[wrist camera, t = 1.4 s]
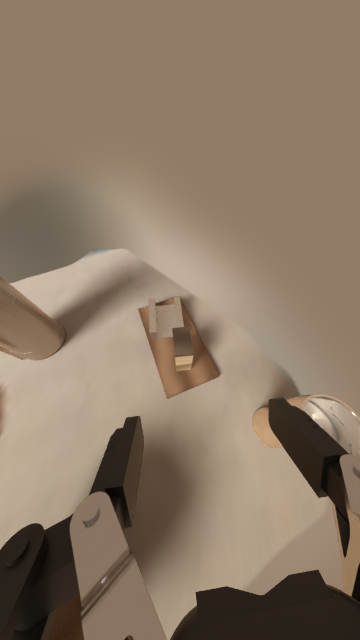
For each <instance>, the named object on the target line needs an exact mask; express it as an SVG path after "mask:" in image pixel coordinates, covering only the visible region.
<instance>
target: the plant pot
mask: <svg viewBox="0 0 360 640" xmlns="http://www.w3.org/2000/svg"><path fill="white" fill-rule="evenodd" d="M81 609H82V604H81V597H80V593H79V594H78V595H76V596H75V597H73V598H72V599H71V600H69V601H68V602H66V603H65V604H63V605H62V606H60V607H59V608H58V609H57V612H56V615H55V618H54V621H53V625H52V628H51V631H50V634H49V638H48V640H84V635H83V628H82V620H81Z"/></svg>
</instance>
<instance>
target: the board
mask: <svg viewBox="0 0 360 640" xmlns="http://www.w3.org/2000/svg"><path fill="white" fill-rule="evenodd" d="M180 302H181V309H182V316H183V323H184V327H187V326H189V328H190V334H191V340H192V346H193V352H194V355H193V361H192V367H191V369H190V370H182V371H176V362H175V353H174V343H173V337H170V338H161V339H152V338H151V335H150V328H149V306H146V307H143V308H140V309H138V310H139V313H140V316H141V319H142V322H143V325H144V328H145V331H146V334H147V338H148V341H149V344H150V347H151V350H152V353H153V356H154V359H155V362H156V365H157V369H158V372H159V375H160V378H161V381H162V384H163V387H164V390H165V393H166V396H167V399H168V398H170V397H172V396H175V395H177V394H179V393H182V392H184V391H187V390H189V389H191V388H194V387H196V386H198V385H201V384H203V383H205V382H208V381H210V380H212V379H215V378H217V377H218V376H219V375H218V373H217V371H216V369H215V367H214V365H213V363H212V361H211V359H210V357H209V355H208V353H207V351H206V349H205V347H204V345H203V343H202V341H201V339H200V337H199V335H198V333H197V331H196V329H195V327H194V325H193V323H192V321H191V319H190V317H189V315H188V313H187V311H186V309H185V307H184V305H183V303H182V301H181V299H180ZM172 304H174V298H172V299H169V300H165V301H162V302H159V303H156V306H162V305H172Z"/></svg>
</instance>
